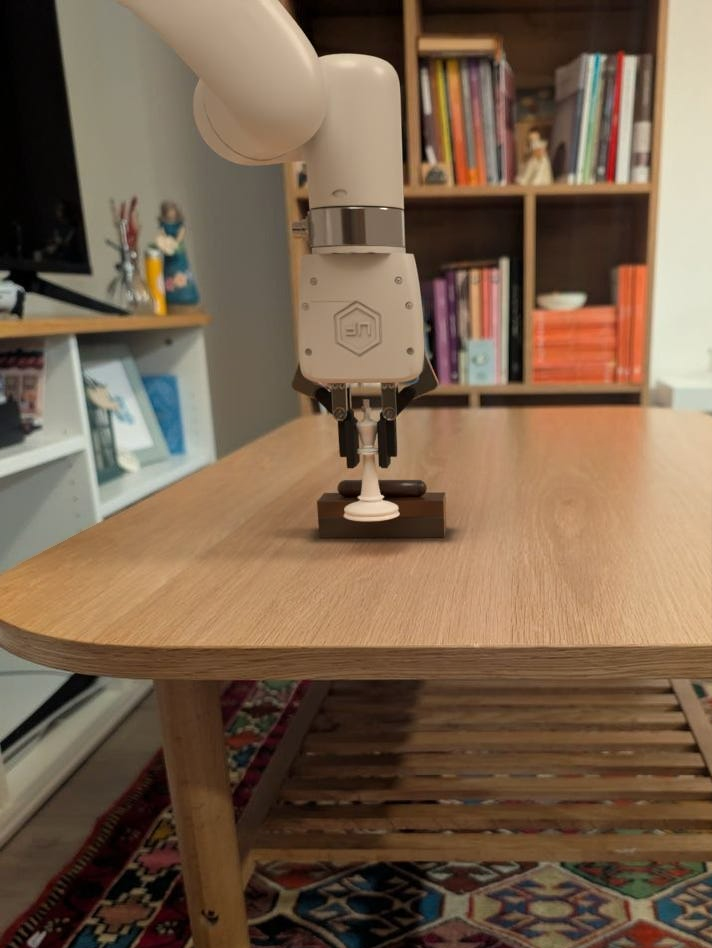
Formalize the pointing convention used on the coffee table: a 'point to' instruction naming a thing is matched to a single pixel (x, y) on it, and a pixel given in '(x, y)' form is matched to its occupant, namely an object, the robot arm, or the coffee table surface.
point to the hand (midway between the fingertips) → (369, 464)
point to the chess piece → (369, 477)
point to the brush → (416, 520)
